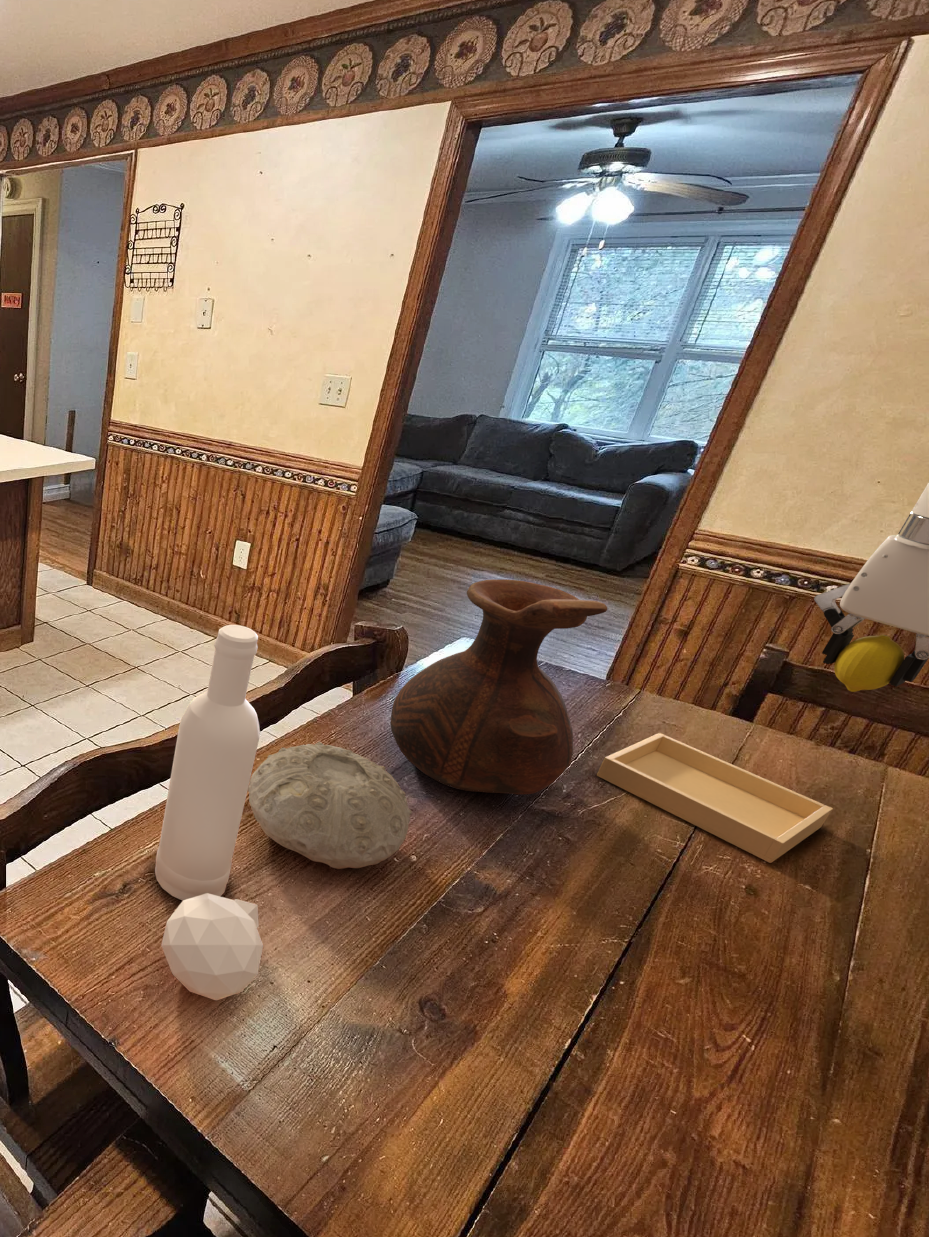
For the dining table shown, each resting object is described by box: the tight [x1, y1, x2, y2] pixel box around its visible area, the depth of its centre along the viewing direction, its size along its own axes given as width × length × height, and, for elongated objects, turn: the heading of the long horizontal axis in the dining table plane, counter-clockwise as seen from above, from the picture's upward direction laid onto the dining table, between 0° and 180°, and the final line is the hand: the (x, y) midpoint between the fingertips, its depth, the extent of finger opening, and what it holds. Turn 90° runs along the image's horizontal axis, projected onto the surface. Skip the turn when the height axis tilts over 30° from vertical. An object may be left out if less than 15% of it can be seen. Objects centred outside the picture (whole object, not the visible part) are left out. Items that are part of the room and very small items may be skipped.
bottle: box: [154, 624, 261, 901], centre depth 76 cm, size 8×8×30 cm
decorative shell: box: [247, 741, 413, 870], centre depth 88 cm, size 18×18×10 cm
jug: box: [390, 578, 608, 795], centre depth 98 cm, size 22×22×30 cm
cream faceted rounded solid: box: [160, 893, 264, 1001], centre depth 69 cm, size 9×9×12 cm
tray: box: [596, 732, 834, 864], centre depth 100 cm, size 20×16×3 cm
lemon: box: [833, 634, 905, 693], centre depth 94 cm, size 6×6×8 cm
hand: (863, 671), depth 95 cm, fingers closed on lemon, 5 cm apart
